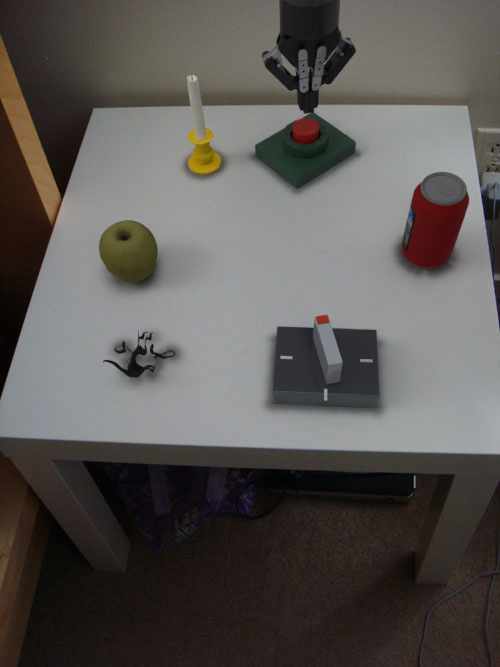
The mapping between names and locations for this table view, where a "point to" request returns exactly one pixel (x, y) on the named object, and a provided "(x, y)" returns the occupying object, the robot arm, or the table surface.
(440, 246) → the beverage can
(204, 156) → the candle
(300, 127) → the red button
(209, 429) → the table surface
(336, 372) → the tap handle
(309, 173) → the button box
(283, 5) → the robot arm
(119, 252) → the apple
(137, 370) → the creature
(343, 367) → the plate
